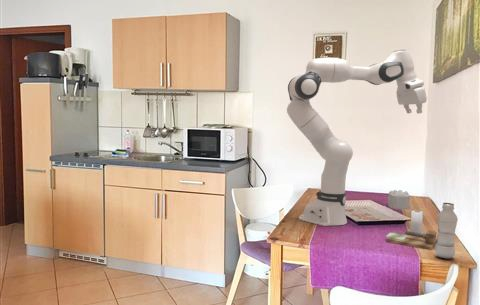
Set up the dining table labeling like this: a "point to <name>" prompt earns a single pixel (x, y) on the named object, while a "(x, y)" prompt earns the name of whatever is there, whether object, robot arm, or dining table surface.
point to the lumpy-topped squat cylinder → (398, 199)
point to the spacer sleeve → (416, 221)
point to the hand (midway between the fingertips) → (414, 113)
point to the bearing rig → (414, 239)
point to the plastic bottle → (446, 232)
